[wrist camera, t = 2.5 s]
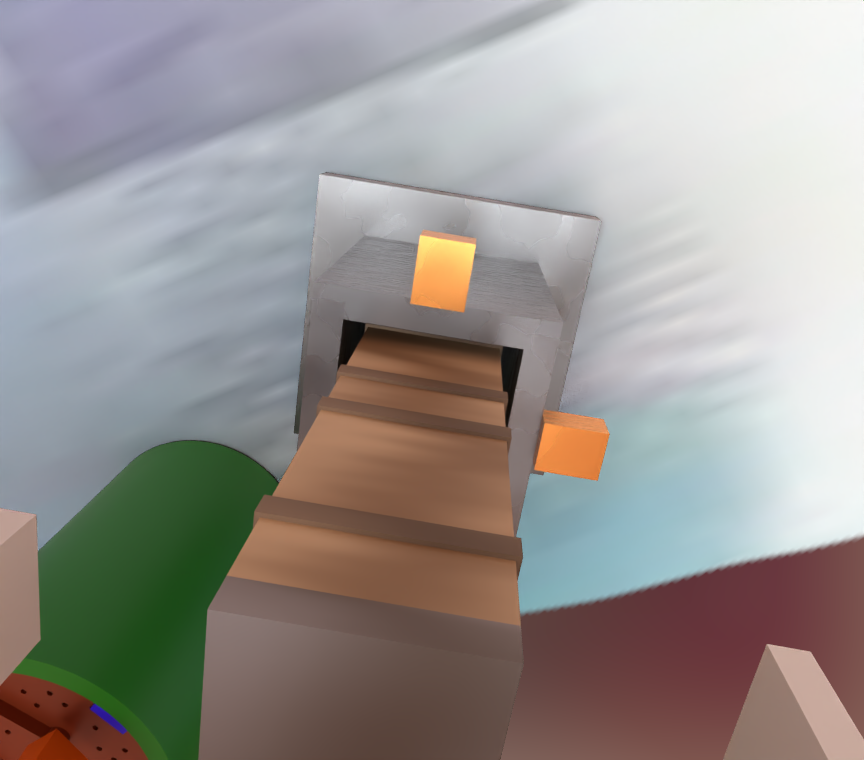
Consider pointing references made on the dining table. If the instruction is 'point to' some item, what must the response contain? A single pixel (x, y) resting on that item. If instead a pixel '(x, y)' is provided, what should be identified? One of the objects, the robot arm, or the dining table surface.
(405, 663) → the column
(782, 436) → the dining table surface
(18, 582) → the robot arm
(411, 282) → the stand base
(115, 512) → the motor
